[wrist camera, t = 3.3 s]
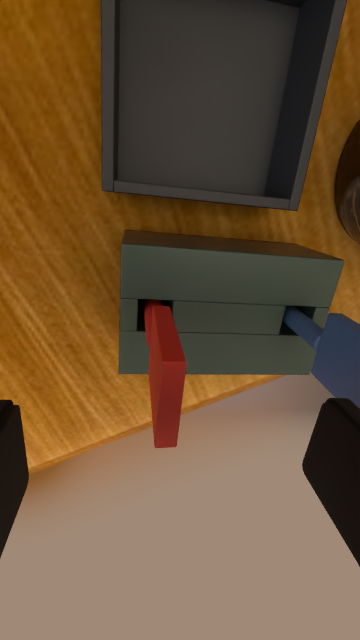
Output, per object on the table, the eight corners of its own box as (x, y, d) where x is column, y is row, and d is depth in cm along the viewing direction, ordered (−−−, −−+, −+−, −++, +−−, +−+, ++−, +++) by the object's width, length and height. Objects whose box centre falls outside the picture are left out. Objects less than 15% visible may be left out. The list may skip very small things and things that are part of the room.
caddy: (122, 332, 24) (118, 374, 18) (124, 229, 21) (121, 243, 15) (272, 336, 26) (309, 374, 21) (295, 243, 23) (345, 260, 17)
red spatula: (140, 307, 23) (148, 449, 11) (143, 262, 22) (155, 361, 9) (156, 308, 23) (181, 447, 11) (159, 263, 22) (193, 362, 9)
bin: (108, 190, 20) (101, 190, 16) (109, -45, 15) (100, -130, 11) (266, 207, 22) (297, 211, 17) (307, 1, 17) (361, -58, 13)
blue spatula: (249, 311, 25) (370, 440, 12) (258, 269, 23) (405, 364, 11) (263, 312, 25) (396, 439, 12) (272, 270, 24) (433, 364, 11)
